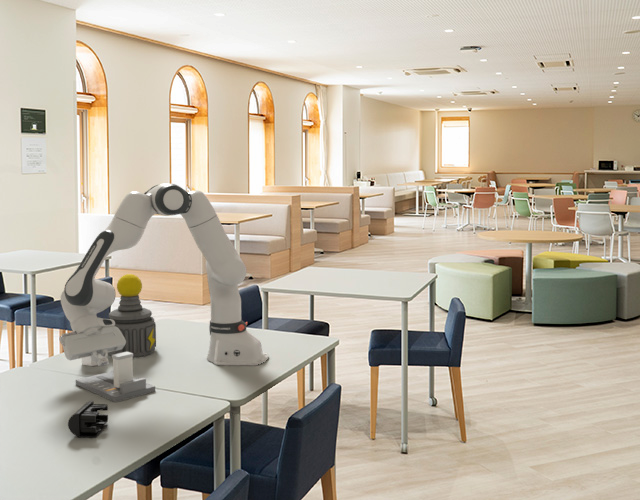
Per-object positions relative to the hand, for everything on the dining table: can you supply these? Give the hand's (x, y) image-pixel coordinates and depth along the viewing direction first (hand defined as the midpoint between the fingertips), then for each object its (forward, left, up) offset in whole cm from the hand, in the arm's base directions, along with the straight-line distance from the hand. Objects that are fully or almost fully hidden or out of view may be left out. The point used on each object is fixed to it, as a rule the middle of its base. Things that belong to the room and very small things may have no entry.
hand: (103, 364), depth 219 cm
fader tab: (-10, +6, -4) cm, 12 cm away
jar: (+16, -21, -7) cm, 27 cm away
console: (-5, +3, -6) cm, 9 cm away
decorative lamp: (+10, -37, -7) cm, 39 cm away
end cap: (-16, +37, -7) cm, 41 cm away
